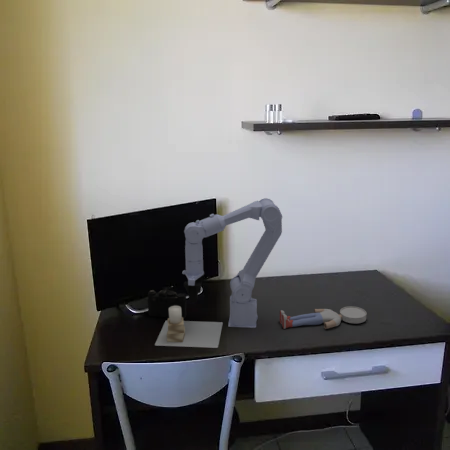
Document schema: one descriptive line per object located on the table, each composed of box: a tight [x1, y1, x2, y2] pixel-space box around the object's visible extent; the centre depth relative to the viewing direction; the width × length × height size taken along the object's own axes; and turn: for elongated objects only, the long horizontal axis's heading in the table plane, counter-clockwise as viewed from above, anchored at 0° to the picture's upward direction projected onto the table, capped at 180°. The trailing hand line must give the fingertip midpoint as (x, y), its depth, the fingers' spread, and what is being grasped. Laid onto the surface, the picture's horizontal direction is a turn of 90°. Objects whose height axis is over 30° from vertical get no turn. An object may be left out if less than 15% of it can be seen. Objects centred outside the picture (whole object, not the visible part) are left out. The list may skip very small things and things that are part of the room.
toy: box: [279, 305, 368, 330], centre depth 168 cm, size 6×13×30 cm
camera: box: [147, 288, 187, 320], centre depth 175 cm, size 14×11×10 cm
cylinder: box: [169, 306, 182, 324], centre depth 155 cm, size 4×4×4 cm
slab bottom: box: [167, 326, 185, 342], centre depth 157 cm, size 5×5×3 cm
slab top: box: [167, 317, 185, 334], centre depth 156 cm, size 5×5×3 cm
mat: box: [154, 319, 224, 349], centre depth 160 cm, size 20×17×1 cm
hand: (195, 297), depth 164 cm, fingers open, 7 cm apart
